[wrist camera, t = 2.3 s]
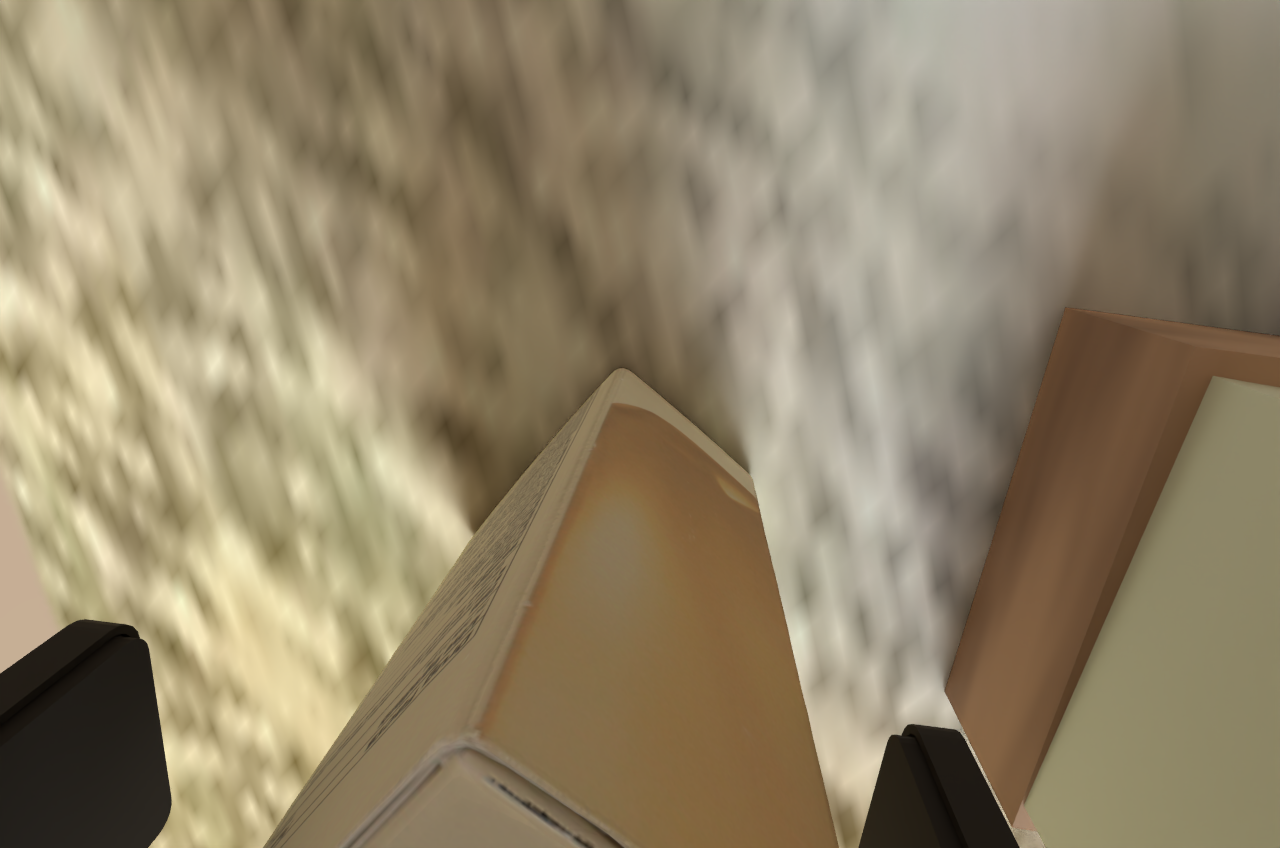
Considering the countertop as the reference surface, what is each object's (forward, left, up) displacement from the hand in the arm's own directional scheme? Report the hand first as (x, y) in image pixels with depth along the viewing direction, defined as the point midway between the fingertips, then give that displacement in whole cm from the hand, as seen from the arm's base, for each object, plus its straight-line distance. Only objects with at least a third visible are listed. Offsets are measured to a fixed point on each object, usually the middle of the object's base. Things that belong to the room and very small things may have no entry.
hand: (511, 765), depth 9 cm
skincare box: (0, 0, -9) cm, 9 cm away
